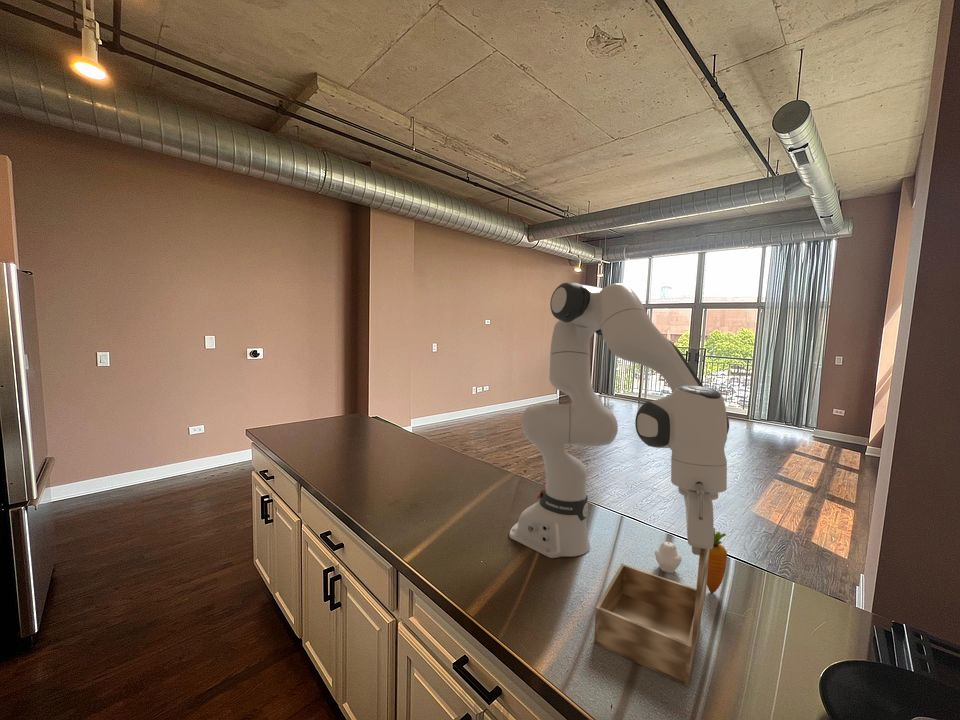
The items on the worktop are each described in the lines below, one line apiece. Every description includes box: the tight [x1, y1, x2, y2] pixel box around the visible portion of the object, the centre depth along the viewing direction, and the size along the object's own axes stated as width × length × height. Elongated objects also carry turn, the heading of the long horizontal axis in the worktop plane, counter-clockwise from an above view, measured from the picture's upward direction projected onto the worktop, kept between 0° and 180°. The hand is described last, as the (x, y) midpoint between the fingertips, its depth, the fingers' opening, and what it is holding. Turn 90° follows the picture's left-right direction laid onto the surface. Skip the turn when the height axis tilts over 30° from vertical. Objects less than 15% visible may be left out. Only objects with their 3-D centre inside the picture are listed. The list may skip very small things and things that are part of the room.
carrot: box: [706, 527, 728, 594], centre depth 91 cm, size 5×5×15 cm
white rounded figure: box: [654, 541, 683, 574], centre depth 100 cm, size 6×6×7 cm
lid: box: [692, 548, 710, 647], centre depth 72 cm, size 16×18×1 cm
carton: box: [593, 563, 702, 688], centre depth 78 cm, size 16×18×7 cm
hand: (697, 552), depth 72 cm, fingers closed, pressing on lid
